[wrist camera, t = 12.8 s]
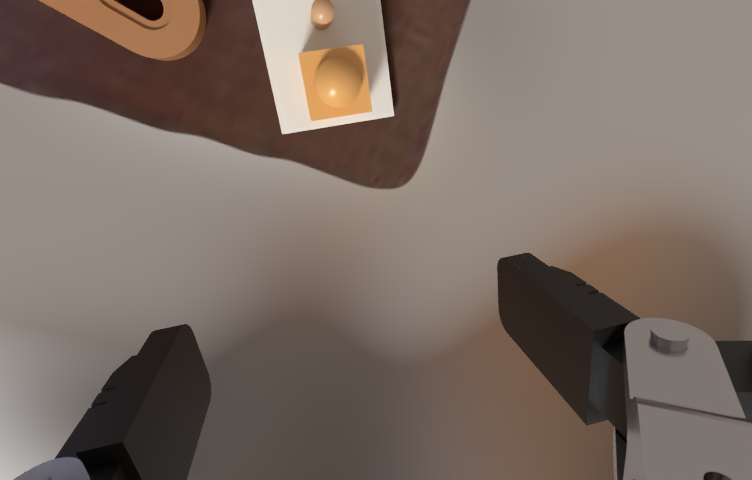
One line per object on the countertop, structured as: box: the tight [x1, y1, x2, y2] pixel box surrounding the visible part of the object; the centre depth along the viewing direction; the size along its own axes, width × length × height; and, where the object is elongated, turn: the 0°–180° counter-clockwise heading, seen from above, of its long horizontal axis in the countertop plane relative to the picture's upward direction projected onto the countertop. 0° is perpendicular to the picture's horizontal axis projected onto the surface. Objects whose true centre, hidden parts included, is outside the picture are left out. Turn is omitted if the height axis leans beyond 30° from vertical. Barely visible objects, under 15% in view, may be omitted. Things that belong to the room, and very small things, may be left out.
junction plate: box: [252, 0, 394, 134], centre depth 38 cm, size 12×14×6 cm
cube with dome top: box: [298, 44, 372, 121], centre depth 37 cm, size 6×6×7 cm
